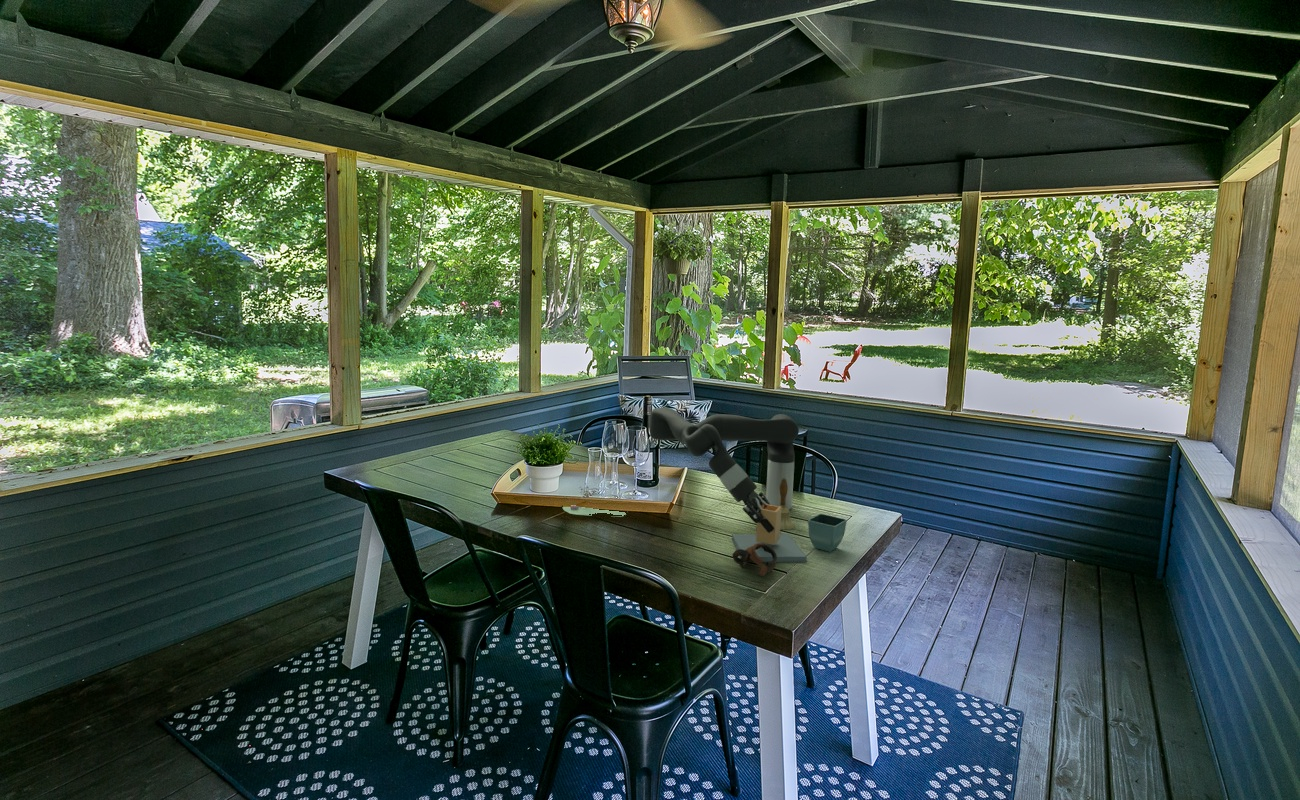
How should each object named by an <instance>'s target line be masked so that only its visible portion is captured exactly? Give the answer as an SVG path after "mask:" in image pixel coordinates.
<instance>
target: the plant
mask: <svg viewBox="0 0 1300 800" xmlns="http://www.w3.org/2000/svg"><path fill="white" fill-rule="evenodd" d="M584 485H587V483H584ZM580 488H581V486H579V489H580ZM587 489H589V486H585V488H581V489H580V490H581V491H580V494H582V498H584V497H589V496H592V497H593V495H594V493H592V490H591V491H590V490H587ZM562 510H563V511H564V512H566V513H568V514H570V515H571V514H572V515H578V516H592V514H595V513H596V514H597V513H607V514H610V513H611V514H613V515H622V516H621V517H625V516H626V515H627V514H626V513H625V512H619V511H609V510H599V509H593V508H585V507H578V506H576V505H571V507H562ZM589 514H591V515H589ZM624 515H625V516H624Z"/></svg>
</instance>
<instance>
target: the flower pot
mask: <svg viewBox="0 0 1300 800" xmlns="http://www.w3.org/2000/svg"><path fill="white" fill-rule="evenodd" d="M847 522H848V520H847V519H846V518H842V517H837V516H833V515H828V514H825V513H818V514H816V515H815V516H813V517H811V518H809V519H808V520H807V523H808V535H809V536H808V537H809V540H810V542H811V543H812V545H813V547H814V549H817V550H821V551H824V552H829V553H830V552H833V551H834V550H835V549H837V548H838V547H839V546H840V544H841V542H842V540H843V538H844V537H845V531H846V528H847Z"/></svg>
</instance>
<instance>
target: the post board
mask: <svg viewBox="0 0 1300 800" xmlns="http://www.w3.org/2000/svg"><path fill="white" fill-rule="evenodd" d="M731 540H732V542H733V544H734V543H735V544H734V545H736V546H735V547H737V548H736V550H738V549H742V550H746V549H747V548H749V547H751V546H754V545H755V544H757V543H762V542H756V533H743V534H741V533H739V534H737V533H735V534H734V533H732V534H731ZM762 544H765V545H768V546H769V547H771V548H772V549H773V550H774V551H775V553H776V555H777V560H776V563H783V562H784V563H785V562H787V563H788V562H789V563H793V562H795V563H799V562H800V563H801V562H807V559H808V557H807V555H806V553H805V552H804V551H803V550H802V548H801V547H800V545H799V544H798V543H797V542H796V541H795V540H794V538H793V536H791V534H790V533H780V539H779V540H778V541H777V543H776V544H775V545H772V544H767V543H762ZM755 551H756V553H757V555H758V556H759V557H760V558H761V559H763V563H767V561H773V557H772V555H771V553H768V552H766V551H764V549H763V548H759V549H757V550H755ZM741 557H742V556H740V558H741Z"/></svg>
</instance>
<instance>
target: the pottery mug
mask: <svg viewBox="0 0 1300 800" xmlns="http://www.w3.org/2000/svg"><path fill="white" fill-rule="evenodd" d="M759 548H763V549H764V551H766V552H768V553H771V555H772V557H773V561H767V562H765V563H764V562H763V559H761V558H760V557H759V556H758V555H757V553H756V551H755V550H757V549H759ZM741 556H742V557H741ZM739 557H740V558H739ZM732 558H733V561H734V562H735V563H736V564H738V565H739V566H740V568H741V569H744V566H745V564H746V563H753V564H755V565H756V566H758V567H759V568H760V570H759V571H758V573H757V574H758V576H761V577H764V576H765V575H766V574H768V573H770V572H771V571H773V570H774V569H775V568H776V565H777V562H776V560H777V555H776V553H775V551H774V550H773V549H772V548H771V547H769V546H768V545H765V544H762V543H757V544H755V545H754V546H751V547H749V548H747V549H746V550H742V549H736V550H734V551H733V553H732Z"/></svg>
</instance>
